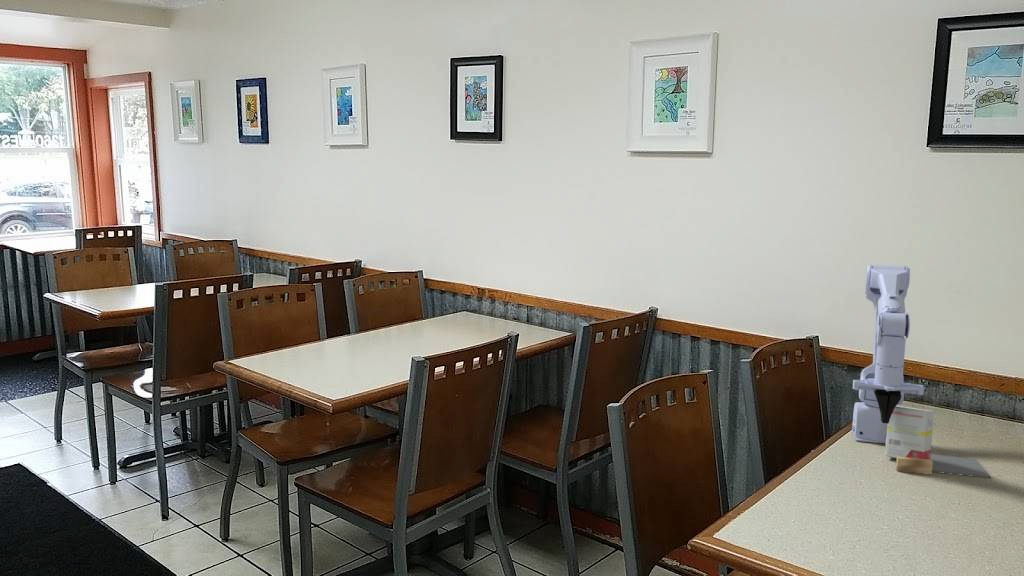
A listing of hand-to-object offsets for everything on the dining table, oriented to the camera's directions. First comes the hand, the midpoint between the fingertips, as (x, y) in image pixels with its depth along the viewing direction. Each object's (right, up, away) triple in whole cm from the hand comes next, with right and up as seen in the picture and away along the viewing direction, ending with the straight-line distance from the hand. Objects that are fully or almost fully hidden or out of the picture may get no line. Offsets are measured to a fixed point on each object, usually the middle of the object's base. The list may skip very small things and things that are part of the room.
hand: (884, 422), depth 180 cm
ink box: (+5, -9, 0) cm, 10 cm away
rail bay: (+5, -9, 0) cm, 10 cm away
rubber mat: (+15, -10, -3) cm, 18 cm away
